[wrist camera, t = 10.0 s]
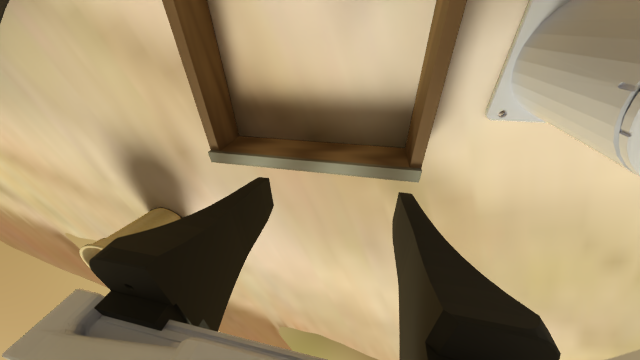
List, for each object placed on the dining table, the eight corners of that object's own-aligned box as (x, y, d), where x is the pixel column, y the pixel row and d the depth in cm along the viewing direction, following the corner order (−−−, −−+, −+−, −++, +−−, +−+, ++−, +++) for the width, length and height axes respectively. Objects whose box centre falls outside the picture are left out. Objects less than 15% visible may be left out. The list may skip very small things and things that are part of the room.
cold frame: (495, -189, 10) (548, -286, 7) (412, 157, 20) (418, 182, 17) (163, -130, 13) (98, -177, 10) (234, 143, 23) (211, 161, 20)
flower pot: (129, 194, 32) (61, 241, 25) (185, 201, 30) (128, 253, 23) (158, 239, 38) (108, 287, 31) (208, 247, 36) (167, 301, 29)
